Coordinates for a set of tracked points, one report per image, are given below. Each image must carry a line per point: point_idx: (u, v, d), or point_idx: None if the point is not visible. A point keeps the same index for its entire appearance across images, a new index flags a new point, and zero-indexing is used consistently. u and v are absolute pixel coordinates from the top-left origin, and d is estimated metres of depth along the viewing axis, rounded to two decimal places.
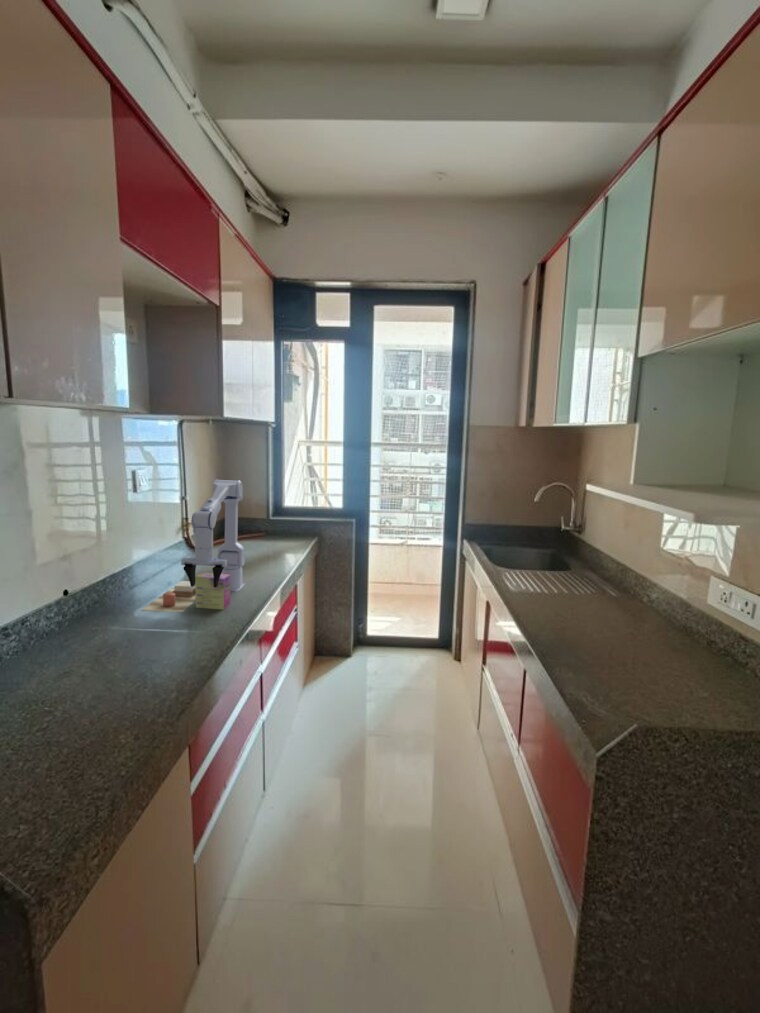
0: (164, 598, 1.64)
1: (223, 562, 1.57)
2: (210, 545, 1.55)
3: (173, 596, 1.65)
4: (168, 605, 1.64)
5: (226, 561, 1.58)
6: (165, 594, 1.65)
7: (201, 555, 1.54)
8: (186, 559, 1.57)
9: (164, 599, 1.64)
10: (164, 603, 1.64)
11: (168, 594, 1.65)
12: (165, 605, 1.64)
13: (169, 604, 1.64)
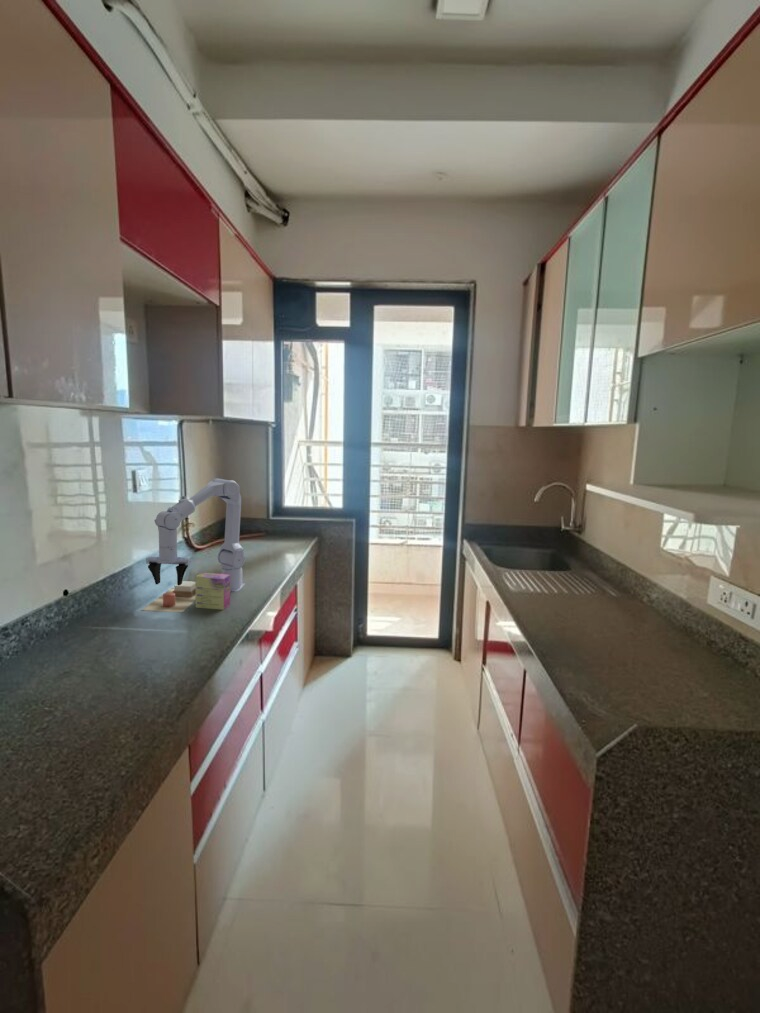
0: (164, 598, 1.64)
1: (186, 561, 1.62)
2: (169, 545, 1.60)
3: (173, 596, 1.65)
4: (168, 605, 1.64)
5: (189, 560, 1.64)
6: (165, 594, 1.65)
7: (164, 554, 1.60)
8: (151, 558, 1.63)
9: (164, 599, 1.64)
10: (164, 603, 1.64)
11: (168, 594, 1.65)
12: (165, 605, 1.64)
13: (169, 604, 1.64)
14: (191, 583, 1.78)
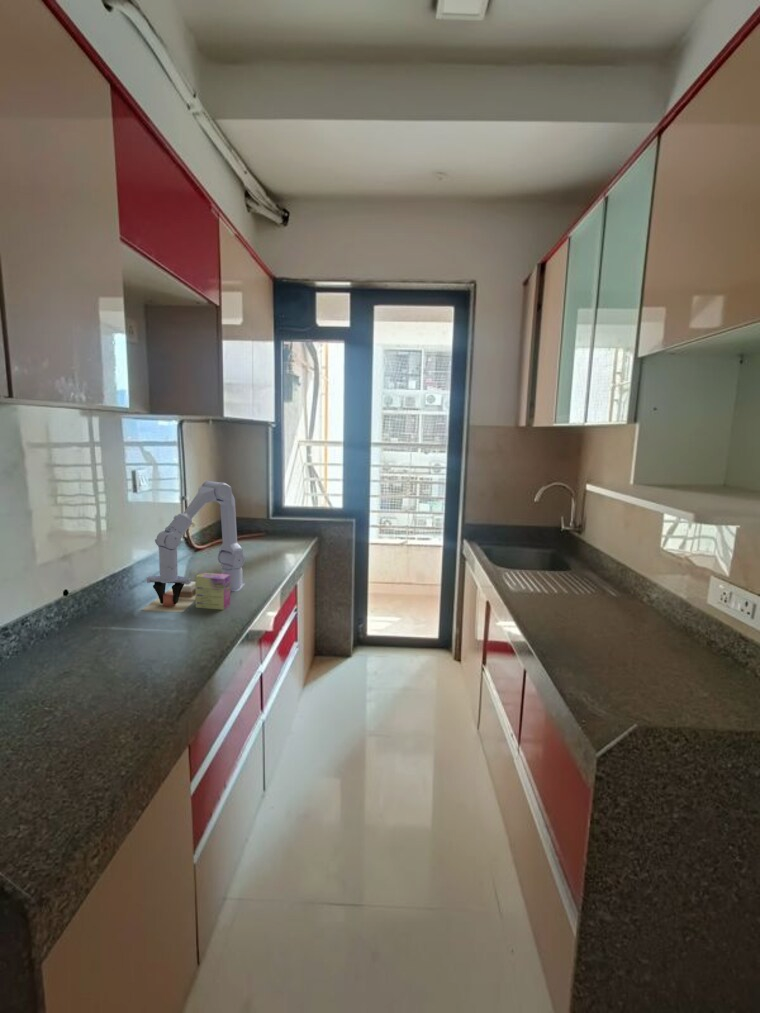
0: (164, 598, 1.64)
1: (187, 580, 1.63)
2: (169, 565, 1.61)
3: None
4: (168, 605, 1.64)
5: (190, 579, 1.65)
6: (165, 594, 1.65)
7: (165, 573, 1.61)
8: (151, 577, 1.64)
9: (164, 599, 1.64)
10: (164, 603, 1.64)
11: (168, 594, 1.65)
12: (165, 605, 1.64)
13: (169, 604, 1.64)
14: (191, 583, 1.78)
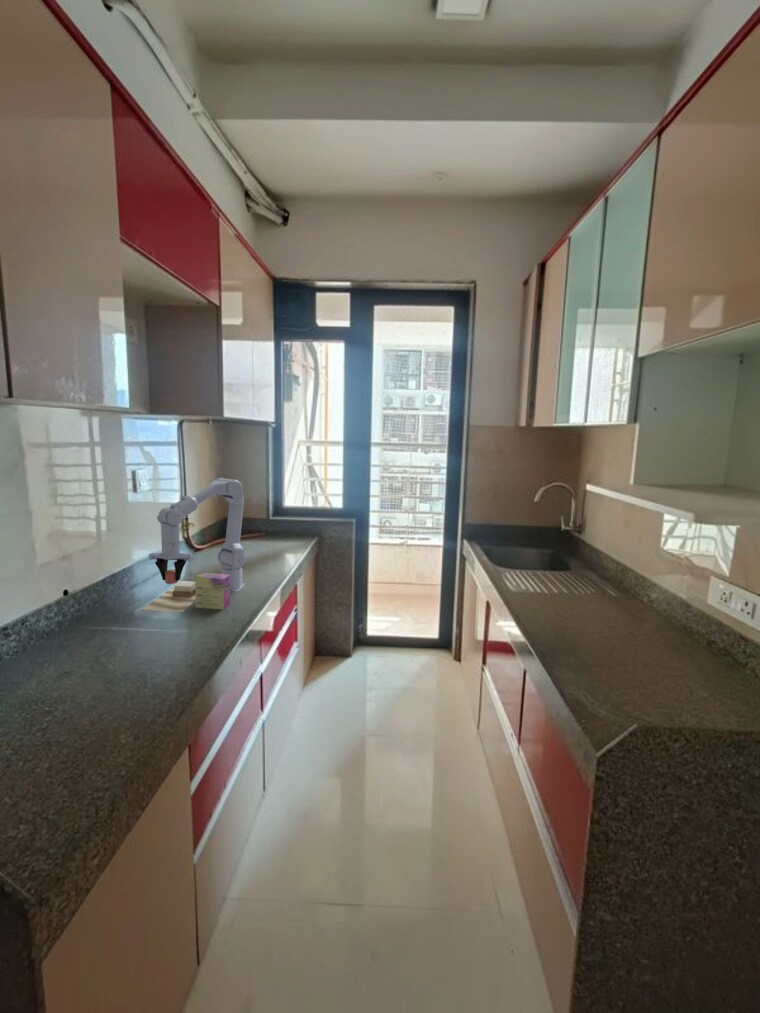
0: (166, 575, 1.64)
1: (189, 557, 1.64)
2: (171, 541, 1.62)
3: (175, 573, 1.65)
4: (170, 582, 1.64)
5: (192, 556, 1.65)
6: (167, 571, 1.65)
7: (167, 550, 1.62)
8: (153, 554, 1.65)
9: (166, 576, 1.64)
10: (166, 580, 1.64)
11: (170, 571, 1.65)
12: (167, 582, 1.64)
13: (171, 580, 1.64)
14: (191, 583, 1.78)
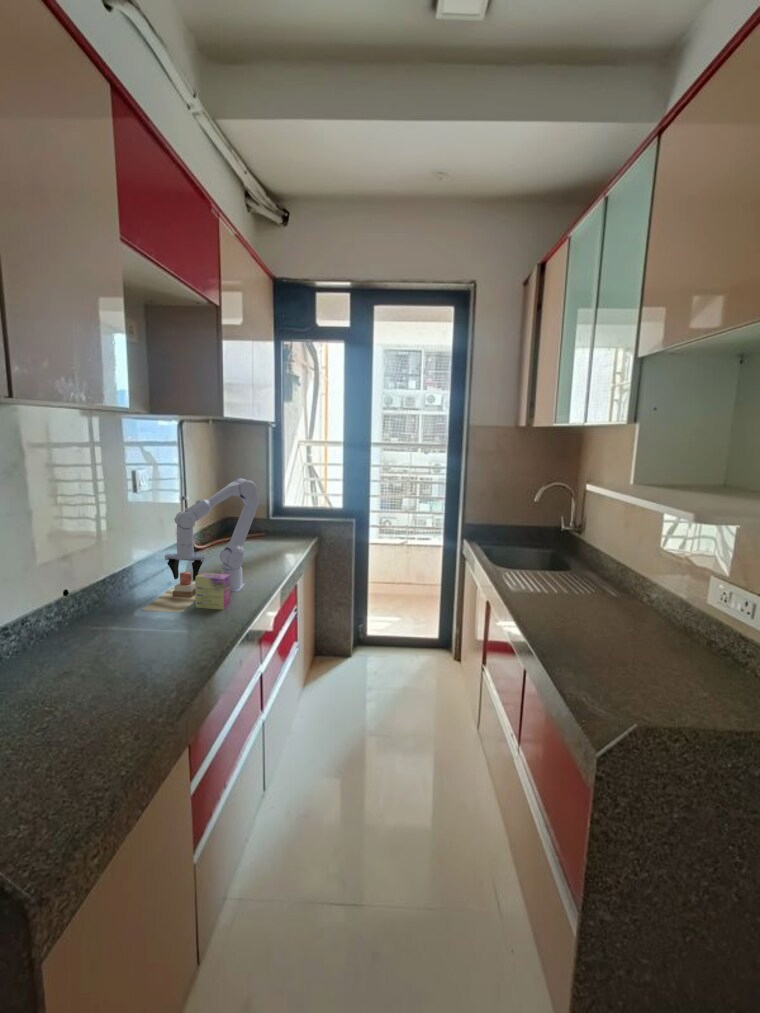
0: (181, 577, 1.75)
1: (202, 557, 1.75)
2: (183, 543, 1.72)
3: (189, 575, 1.76)
4: (185, 583, 1.75)
5: (205, 556, 1.76)
6: (182, 573, 1.76)
7: (182, 551, 1.72)
8: (169, 555, 1.75)
9: (181, 578, 1.75)
10: (181, 581, 1.75)
11: (185, 573, 1.76)
12: (182, 583, 1.75)
13: (186, 582, 1.75)
14: None
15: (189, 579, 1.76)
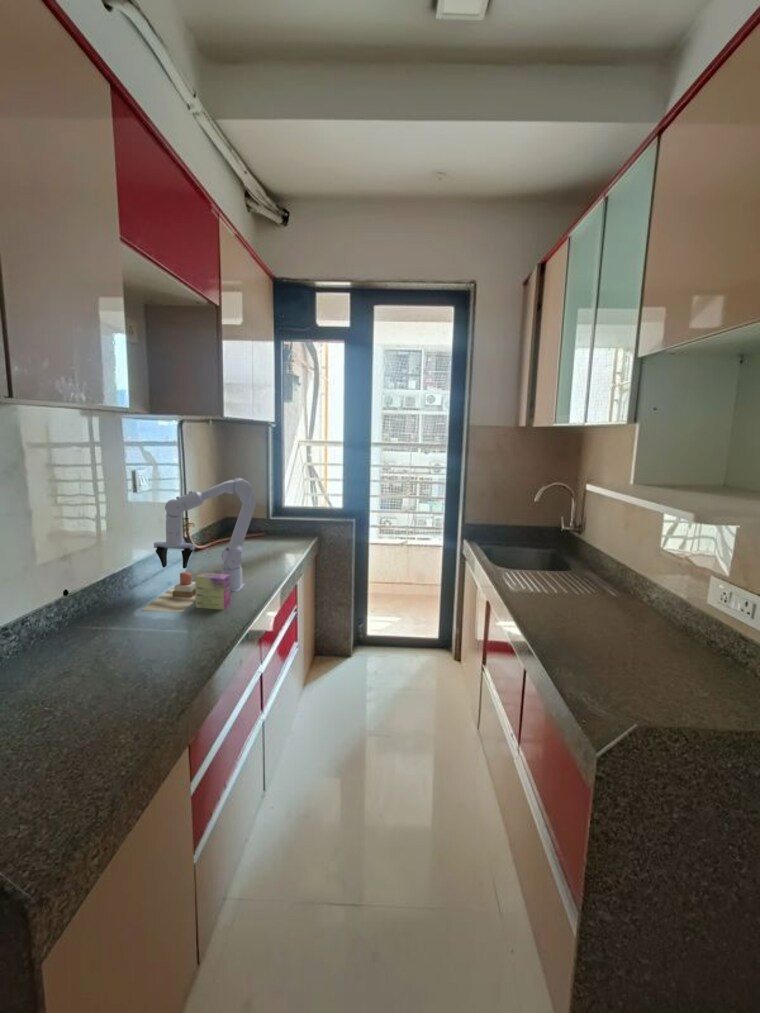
0: (181, 577, 1.75)
1: (191, 545, 1.75)
2: (171, 531, 1.72)
3: (189, 575, 1.76)
4: (185, 583, 1.75)
5: (194, 545, 1.77)
6: (182, 573, 1.76)
7: (171, 539, 1.73)
8: (158, 543, 1.76)
9: (181, 578, 1.75)
10: (181, 582, 1.75)
11: (185, 573, 1.76)
12: (182, 583, 1.75)
13: (186, 582, 1.75)
14: None
15: (189, 579, 1.76)
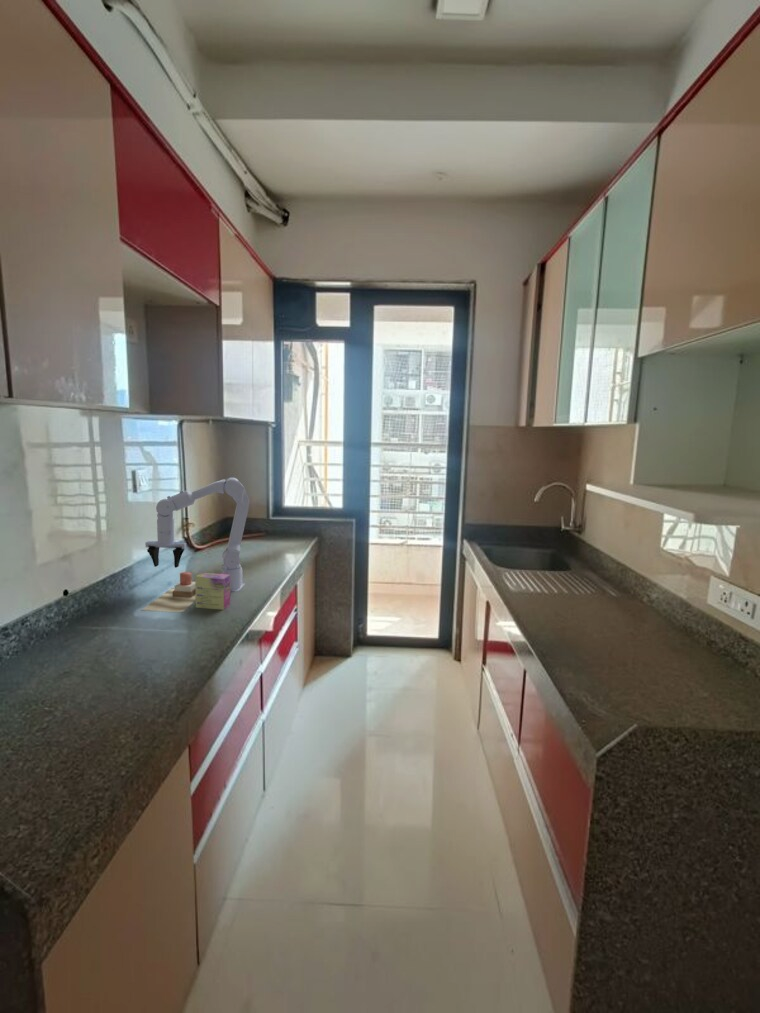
0: (181, 577, 1.75)
1: (182, 545, 1.76)
2: (161, 530, 1.73)
3: (189, 575, 1.76)
4: (185, 583, 1.75)
5: None
6: (182, 573, 1.76)
7: (162, 538, 1.74)
8: (150, 542, 1.77)
9: (181, 578, 1.75)
10: (181, 582, 1.75)
11: (185, 573, 1.76)
12: (182, 583, 1.75)
13: (186, 582, 1.75)
14: None
15: (189, 579, 1.76)
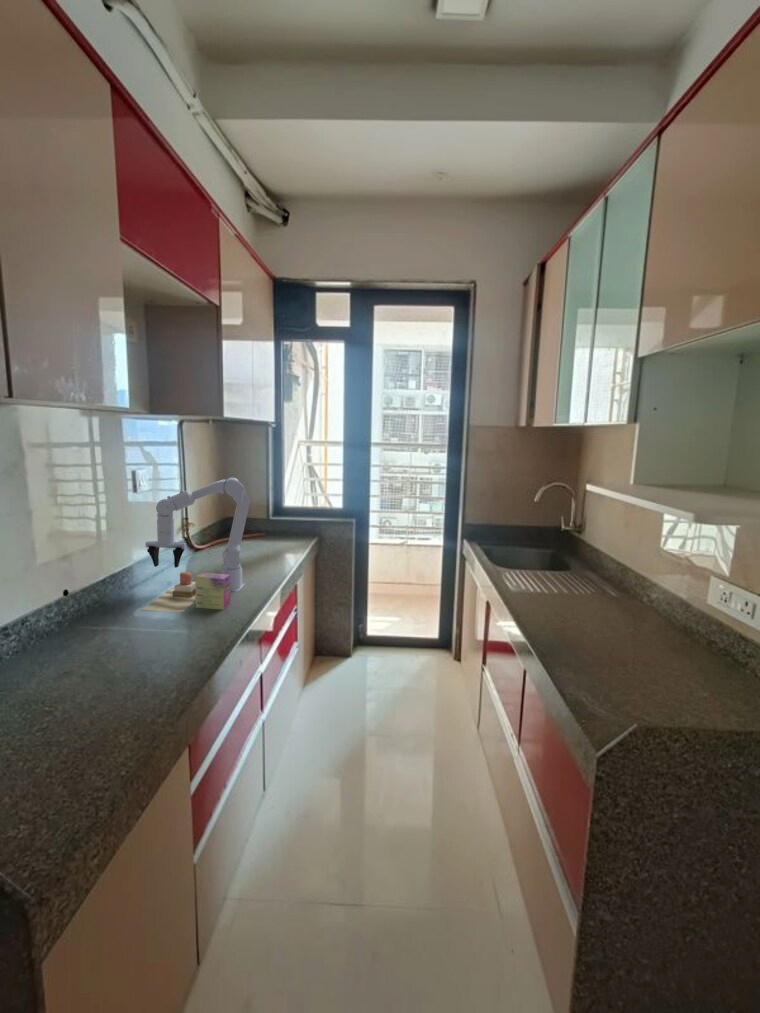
0: (181, 577, 1.75)
1: (182, 545, 1.76)
2: (161, 530, 1.73)
3: (189, 575, 1.76)
4: (185, 583, 1.75)
5: None
6: (182, 573, 1.76)
7: (162, 538, 1.74)
8: (150, 542, 1.77)
9: (181, 578, 1.75)
10: (181, 582, 1.75)
11: (185, 573, 1.76)
12: (182, 583, 1.75)
13: (186, 582, 1.75)
14: None
15: (189, 579, 1.76)
